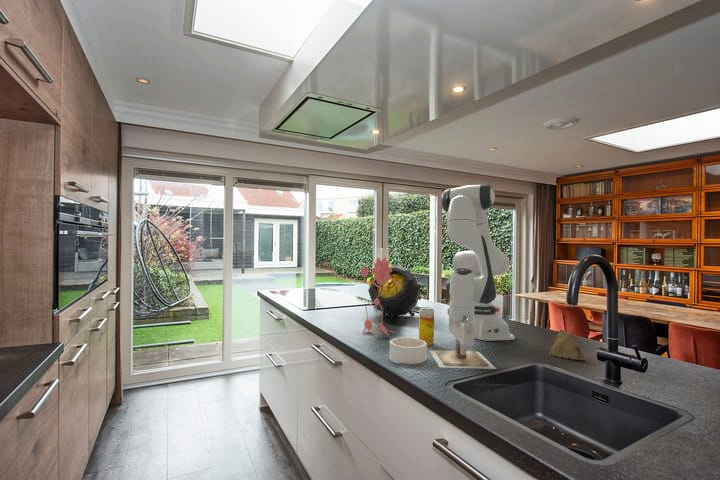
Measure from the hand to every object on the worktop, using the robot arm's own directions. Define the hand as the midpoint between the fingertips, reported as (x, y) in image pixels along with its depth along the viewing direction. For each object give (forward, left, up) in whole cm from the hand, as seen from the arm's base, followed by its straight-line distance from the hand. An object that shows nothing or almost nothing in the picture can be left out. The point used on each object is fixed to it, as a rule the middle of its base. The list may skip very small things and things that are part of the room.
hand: (460, 352), depth 133 cm
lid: (0, 0, -2) cm, 2 cm away
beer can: (+9, -20, -3) cm, 22 cm away
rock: (-42, -7, -3) cm, 43 cm away
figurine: (+27, -36, -3) cm, 45 cm away
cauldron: (+17, -76, -3) cm, 78 cm away
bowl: (+19, 0, -3) cm, 19 cm away
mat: (0, 0, -3) cm, 3 cm away
